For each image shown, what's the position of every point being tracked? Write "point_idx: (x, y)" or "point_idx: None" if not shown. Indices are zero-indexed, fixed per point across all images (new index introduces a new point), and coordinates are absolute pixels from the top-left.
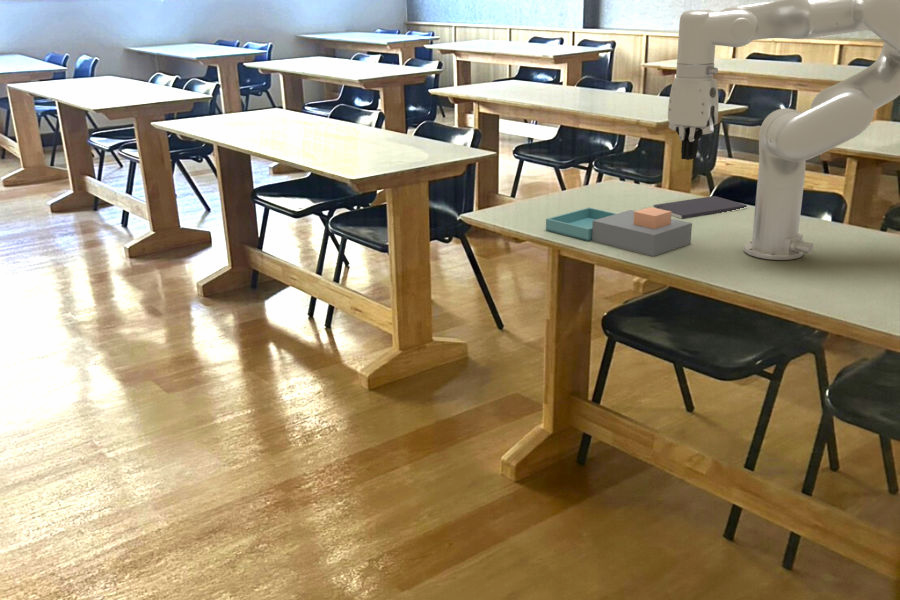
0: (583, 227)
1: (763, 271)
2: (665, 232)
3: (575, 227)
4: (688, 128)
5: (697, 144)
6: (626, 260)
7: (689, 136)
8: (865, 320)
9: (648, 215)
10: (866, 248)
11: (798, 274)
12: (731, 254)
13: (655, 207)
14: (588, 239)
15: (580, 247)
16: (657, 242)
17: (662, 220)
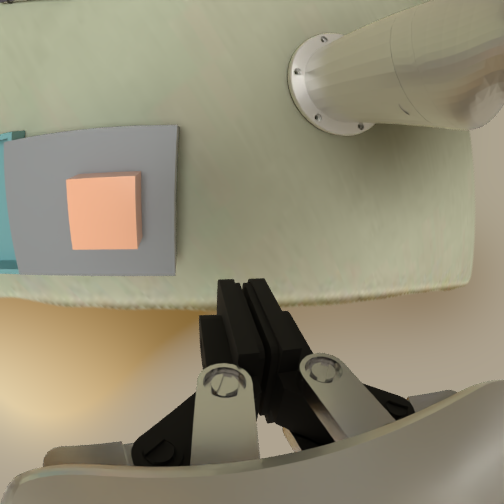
0: (14, 270)
1: (365, 196)
2: (174, 235)
3: (3, 272)
4: (238, 457)
5: (308, 348)
6: (158, 302)
7: (293, 443)
8: (460, 272)
9: (116, 248)
10: None
11: (403, 178)
12: (285, 138)
13: (4, 1)
14: None
15: (56, 297)
16: (175, 254)
17: (138, 210)
